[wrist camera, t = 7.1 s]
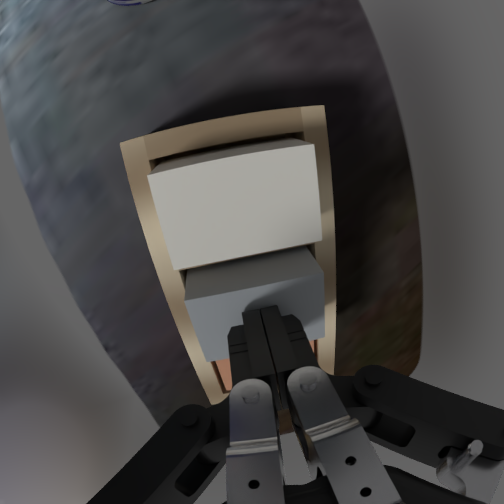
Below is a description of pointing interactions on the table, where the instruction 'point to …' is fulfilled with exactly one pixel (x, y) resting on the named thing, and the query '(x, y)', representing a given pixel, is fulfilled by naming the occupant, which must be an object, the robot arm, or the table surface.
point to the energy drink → (128, 2)
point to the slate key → (254, 295)
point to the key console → (174, 281)
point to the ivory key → (237, 201)
